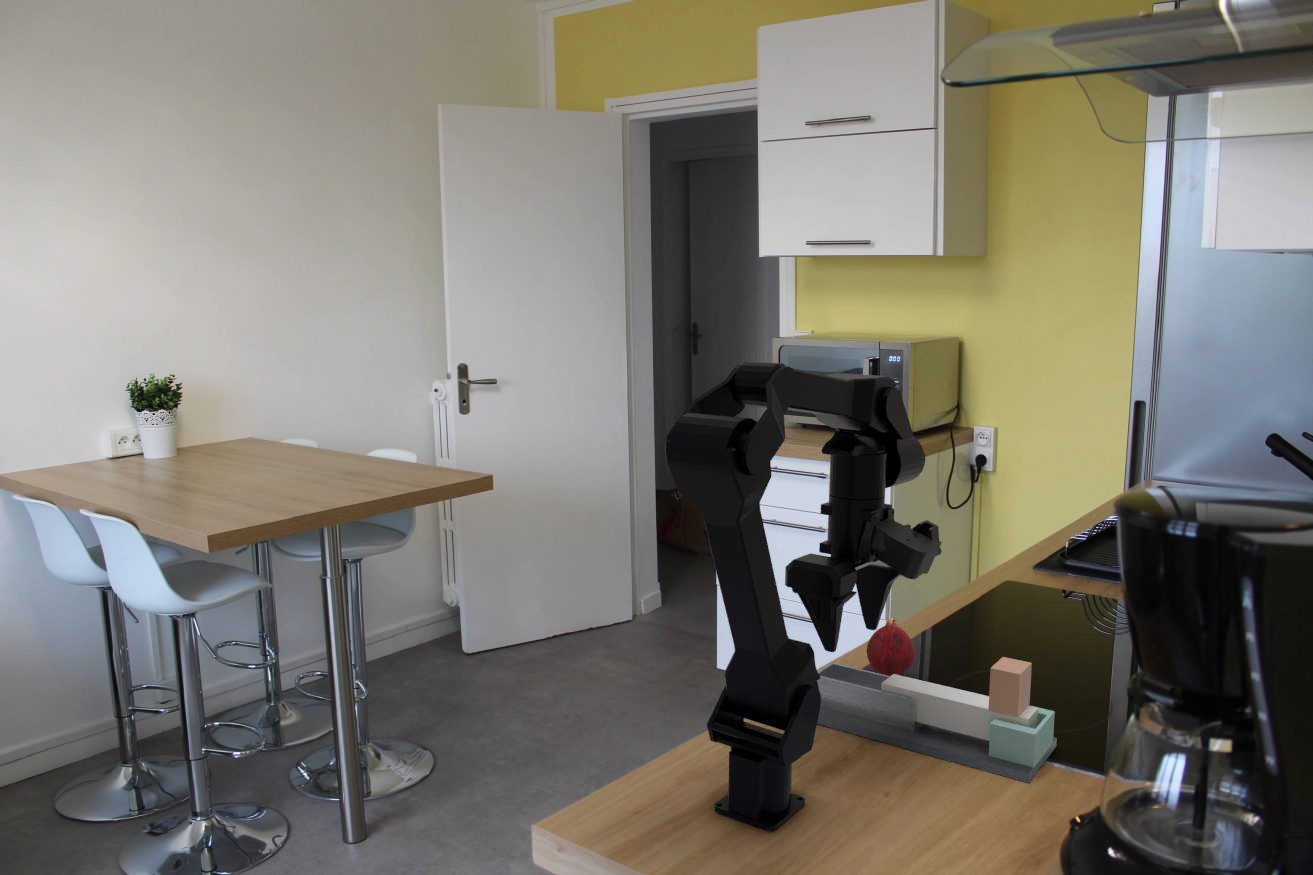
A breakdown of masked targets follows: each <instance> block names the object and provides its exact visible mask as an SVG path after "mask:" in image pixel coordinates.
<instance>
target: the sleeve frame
mask: <svg viewBox="0 0 1313 875" xmlns="http://www.w3.org/2000/svg"><path fill="white" fill-rule="evenodd" d="M817 672H818V674H819V675H820V679H819V680H817V683H818V686H819V691H820V694H821V705H820V711H819V716H818V721H817V725H819V726H823V727H827V728H830V729H834V730H837V731H841V732H844V733H848V734H851V735H855V736H859V737H863V738H865V739H870V740H873V741H877V742H880V743H884V744H887V745H891V746H895V747H898V748H902V749H905V750H907V751H913V752H916V753H919V754H924V755H927V756H929V757H934V758H937V759H940V760H945V761H948V762H951V763H952V762H953V763H955V764H958V765H962V766H966V767H969V768H974V769H977V770H981V771H984V772H988V773H990V774H991V773H992V774H995V775H999V776H1003V777H1005V778H1010V779H1013V780H1017V781H1020V782H1024V783H1028V784H1029V783H1030V782H1031V780H1032V779H1033V778H1034V776H1035V775H1036V774H1037V773H1038V772H1039V770H1040V769H1041V767H1042V766H1043V765H1044V763H1045V762H1046V761H1047V759H1049V757H1051V754H1052V753H1053V752H1054V751H1055V749H1056V748H1057V740H1058V739H1057V737H1055V736H1053V743H1052V745H1051V746H1050V747H1049V749H1048V750H1047V751H1046V752H1045V754H1044V755H1043V756H1042V758H1041V759H1040V760H1039V761H1038V763H1037V764H1036V765H1035V767H1034V768H1032V767H1029V766H1025V765H1021V764H1018V763H1014V762H1010V761H1006V760H1003V759H999V758H995V757H992V756H989V740H985V739H981V738H977V737H973V736H969V735H966V734H962V733H958V732H954V731H950V730H946V729H943V728H939V727H935V726H931V725H927V724H923V723H919V722H916V721H915V716H916V699H913V698H909V697H905V696H900V695H896V694H892V693H888V692H884V691H881V683H882V682H884V681H885V680H886V679H888V678H889V677H890V676H887V675H883V674H879V673H877V672H873V671H870V670H865V669H862V668H858V667H857V668H856V667H853V666H850V665H849V666H848V665H845V664H841V663H836V662H829V664H827V665H825V666H823V667H822V668H821V669H819V670H817Z"/></svg>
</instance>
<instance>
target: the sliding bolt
mask: <svg viewBox="0 0 1313 875" xmlns="http://www.w3.org/2000/svg"><path fill="white" fill-rule="evenodd" d="M1032 665H1033V664H1032V662H1030V661H1024V660H1019V659H1016V658H1010V657H1005V656H1002V657H1001V658H1000V659H999V660H998V661H997V662H995V663H994V664H993V665H992V666H991V667H990V673H989V674H990V676H989V693H988V695H984V694H981V693H977V692H972V691H968V690H964V689H959V688H956V687H955V688H954V687H952V686H951V687H950V686H948V685H942V684H938V683H934V682H930V681H924V680H920V679H918V678H914V677H913V678H912V677H909V676H904V675H896V674H893V675H892V676H890V677H889V678H888V679H886V680H885V681H884V682H882V683H881V691H884V692H888V693H892V694H896V695H900V696H905V697H909V698H913V699H916V716H915V721H916V722H919V723H923V724H927V725H931V726H935V727H939V728H943V729H946V730H950V731H954V732H958V733H962V734H966V735H969V736H973V737H977V738H981V739H985V740H989V739H990V723H991V722H992V721H993V720H994V719H998V720H1002V721H1006V722H1010V723H1014V724H1018V725H1022V726H1026V727H1030V728H1034V729H1036V728H1037V724H1038V708H1039V707H1038V706H1034V707H1032V706H1033V705H1030V701H1031V686H1032V684H1031V683H1032V682H1031V681H1032V669H1033V668H1032ZM1029 705H1030V706H1029ZM1037 707H1038V708H1037Z"/></svg>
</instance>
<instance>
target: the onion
mask: <svg viewBox="0 0 1313 875" xmlns="http://www.w3.org/2000/svg"><path fill="white" fill-rule="evenodd" d="M866 655H867V656H866V657H867V660H868V662H869V664H870V667H871V668H872V669H873V670H874V671H875V673H879V674H883V675H887V676H892V675H893V674H896V675H900V676H903V675H904V674H905V673H906V672H908V671H909V669H910V668H911V667H912V665H913V662H914V658H915V646H914V643H913V641H912V639H911V637H910V636H909V634H908V633H907V632H906V631H905V630H904V629H902V628H901V626H900V627H899V626H898V625H897V620H896V619H895V618H893V617H890V618H887V622H886V624H885V625H884V626H882V627H880V628H877V629H876V630H875V632H874V633H873V634H872V635H871V637H870V638H869V640H868V643H867V645H866Z"/></svg>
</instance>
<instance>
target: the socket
mask: <svg viewBox="0 0 1313 875" xmlns="http://www.w3.org/2000/svg"><path fill="white" fill-rule="evenodd" d="M1029 706H1032V707H1035V706H1033V705H1030V704H1029ZM1036 707H1037V708H1038V724H1037V728H1036V729H1034V728H1030V727H1026V726H1022V725H1018V724H1014V723H1010V722H1006V721H1002V720H998V719H994V720H993V721H992V722H991V723H990V739H989V756H992V757H995V758H999V759H1003V760H1006V761H1010V762H1014V763H1018V764H1021V765H1025V766H1029V767H1032V768H1034V767H1035V765H1036V764H1037V763H1038V761H1039V760H1040V759H1041V758H1042V756H1043V755H1044V754H1045V752H1046V751H1047V750H1048V749H1049V747H1050V746H1051V745H1052V743H1053V737H1054V732H1055V731H1054V730H1055V714H1056V712H1055V711H1054V710H1052V709H1045V708H1042V707H1038V706H1036Z"/></svg>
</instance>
